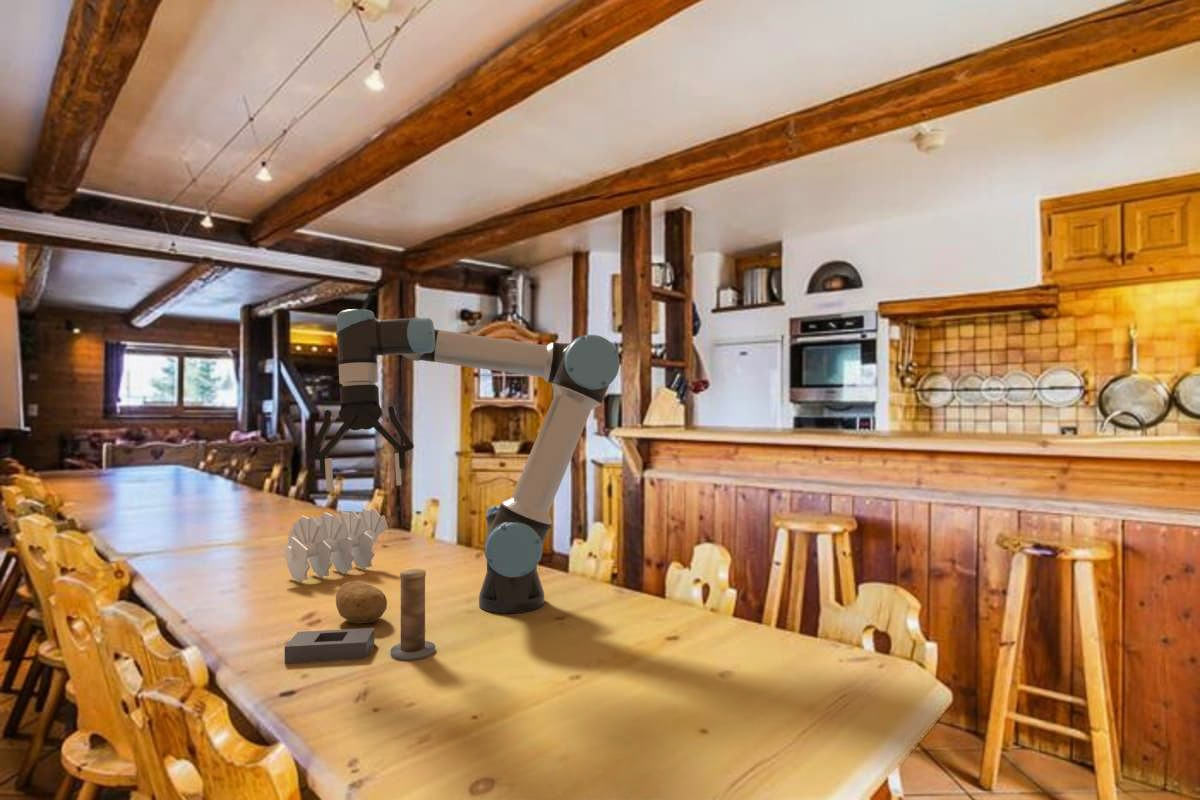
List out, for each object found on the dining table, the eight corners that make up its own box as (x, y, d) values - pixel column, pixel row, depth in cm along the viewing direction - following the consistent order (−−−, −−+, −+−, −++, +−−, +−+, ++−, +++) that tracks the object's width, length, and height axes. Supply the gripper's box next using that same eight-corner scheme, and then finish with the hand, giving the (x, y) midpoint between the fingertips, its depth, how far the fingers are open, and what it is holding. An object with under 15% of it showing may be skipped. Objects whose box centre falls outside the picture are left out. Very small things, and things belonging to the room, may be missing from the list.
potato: (355, 635, 132) (355, 595, 132) (325, 620, 142) (325, 582, 142) (399, 624, 139) (399, 586, 139) (367, 610, 149) (368, 574, 149)
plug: (425, 642, 125) (425, 568, 126) (425, 651, 121) (425, 574, 121) (400, 644, 124) (400, 569, 124) (399, 653, 120) (399, 575, 120)
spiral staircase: (281, 597, 173) (367, 573, 193) (310, 577, 163) (397, 555, 183) (265, 531, 178) (350, 515, 198) (292, 509, 168) (379, 494, 187)
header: (374, 643, 127) (374, 627, 127) (366, 658, 119) (366, 642, 119) (297, 647, 125) (297, 631, 125) (284, 663, 117) (284, 646, 117)
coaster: (436, 643, 127) (436, 639, 127) (432, 658, 119) (432, 654, 119) (394, 645, 126) (394, 641, 126) (387, 661, 118) (387, 657, 118)
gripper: (422, 383, 142) (428, 481, 141) (299, 389, 137) (305, 491, 137) (419, 380, 134) (425, 484, 134) (289, 387, 130) (295, 494, 129)
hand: (364, 487), depth 135 cm, fingers open, 13 cm apart
